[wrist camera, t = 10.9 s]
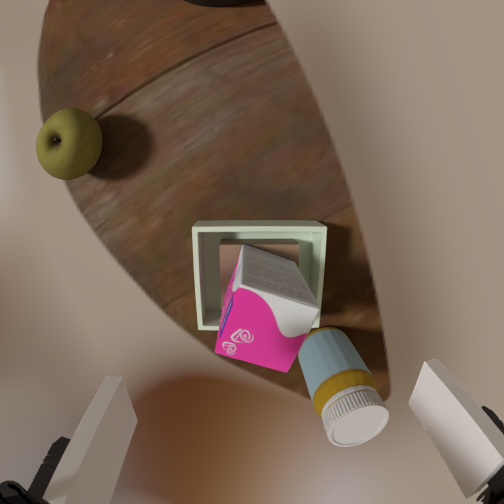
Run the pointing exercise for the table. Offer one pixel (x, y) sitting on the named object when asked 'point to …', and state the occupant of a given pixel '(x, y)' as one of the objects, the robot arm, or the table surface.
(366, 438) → the bottle
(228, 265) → the walnut block
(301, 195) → the table surface
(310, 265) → the box
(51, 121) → the apple
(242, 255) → the supplement box
